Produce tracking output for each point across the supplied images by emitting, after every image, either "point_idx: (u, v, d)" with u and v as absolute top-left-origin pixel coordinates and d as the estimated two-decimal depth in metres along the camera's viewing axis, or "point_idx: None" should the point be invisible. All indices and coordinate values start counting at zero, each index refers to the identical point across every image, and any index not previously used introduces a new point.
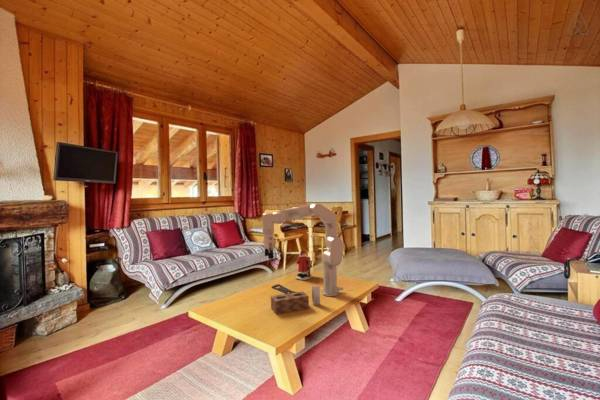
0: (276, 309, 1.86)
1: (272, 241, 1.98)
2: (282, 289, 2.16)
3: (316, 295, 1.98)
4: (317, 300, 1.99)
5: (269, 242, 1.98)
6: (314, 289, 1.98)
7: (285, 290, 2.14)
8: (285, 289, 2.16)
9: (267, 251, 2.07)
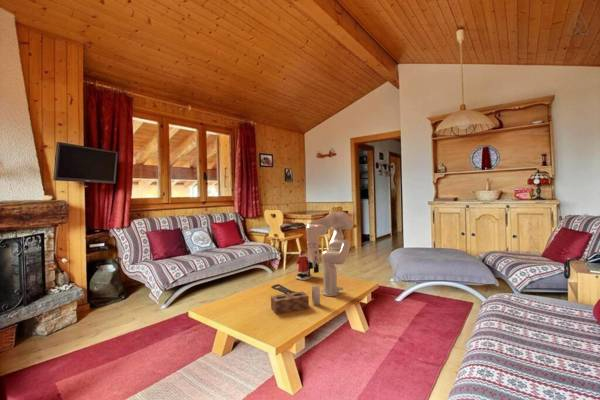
0: (276, 309, 1.86)
1: (317, 255, 1.94)
2: (282, 289, 2.16)
3: (316, 295, 1.98)
4: (317, 300, 1.99)
5: (314, 256, 1.94)
6: (314, 289, 1.98)
7: (285, 290, 2.15)
8: (285, 289, 2.16)
9: (311, 264, 2.03)
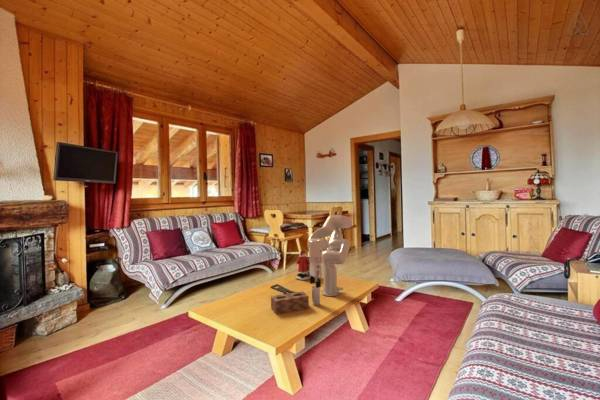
0: (276, 309, 1.86)
1: (320, 269, 1.94)
2: (281, 289, 2.16)
3: (316, 295, 1.98)
4: (317, 300, 1.99)
5: (317, 270, 1.93)
6: (314, 289, 1.98)
7: (284, 290, 2.15)
8: (284, 289, 2.16)
9: (312, 279, 2.03)
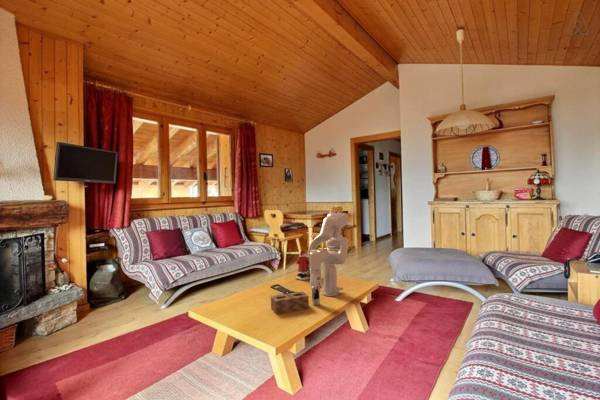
0: (276, 309, 1.86)
1: (320, 281, 1.95)
2: (281, 289, 2.16)
3: None
4: (317, 300, 1.98)
5: (317, 284, 1.94)
6: (314, 289, 1.98)
7: (284, 290, 2.15)
8: (284, 289, 2.17)
9: None
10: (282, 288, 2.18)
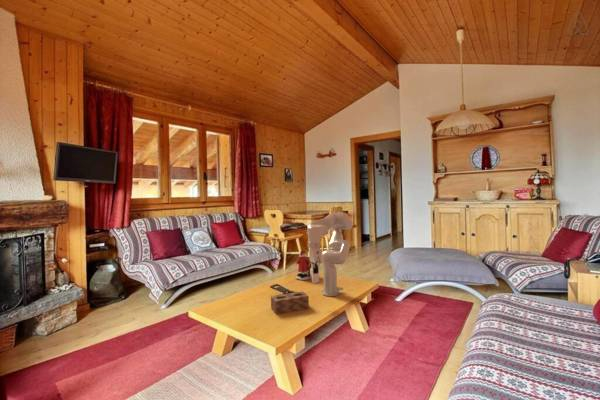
0: (276, 309, 1.86)
1: (319, 255, 1.94)
2: (280, 289, 2.17)
3: None
4: (316, 277, 1.98)
5: (316, 258, 1.94)
6: (313, 266, 1.97)
7: (283, 290, 2.15)
8: (283, 289, 2.17)
9: None
10: (282, 288, 2.18)
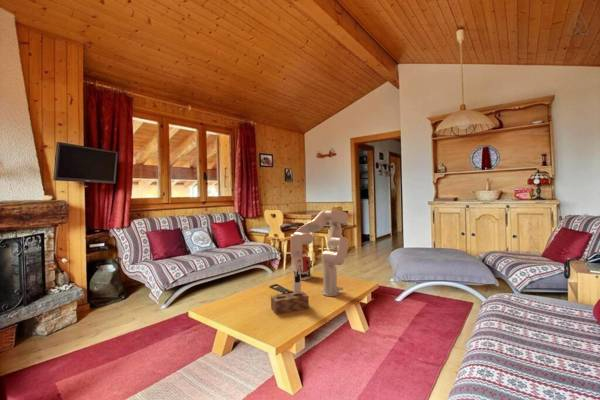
0: (276, 309, 1.86)
1: (301, 263, 1.91)
2: (280, 289, 2.17)
3: (297, 282, 1.94)
4: (298, 287, 1.95)
5: (298, 266, 1.90)
6: None
7: (283, 290, 2.15)
8: (283, 289, 2.17)
9: None
10: (281, 288, 2.18)
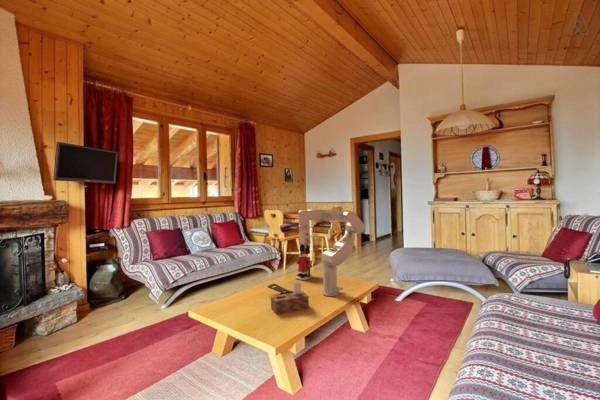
0: (276, 309, 1.86)
1: (308, 237, 2.05)
2: (278, 288, 2.17)
3: (297, 291, 1.94)
4: None
5: (306, 238, 2.05)
6: (295, 285, 1.94)
7: (281, 289, 2.16)
8: (281, 288, 2.18)
9: (302, 247, 2.14)
10: (279, 288, 2.19)
